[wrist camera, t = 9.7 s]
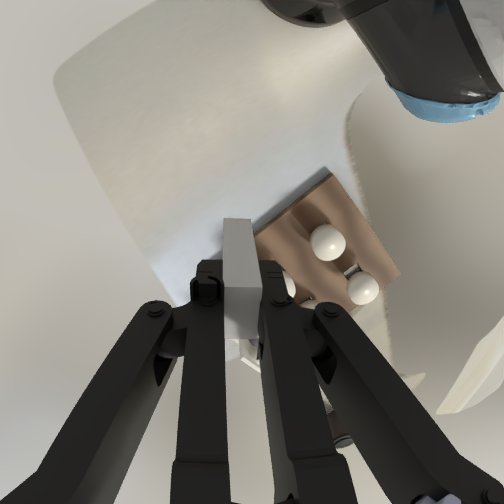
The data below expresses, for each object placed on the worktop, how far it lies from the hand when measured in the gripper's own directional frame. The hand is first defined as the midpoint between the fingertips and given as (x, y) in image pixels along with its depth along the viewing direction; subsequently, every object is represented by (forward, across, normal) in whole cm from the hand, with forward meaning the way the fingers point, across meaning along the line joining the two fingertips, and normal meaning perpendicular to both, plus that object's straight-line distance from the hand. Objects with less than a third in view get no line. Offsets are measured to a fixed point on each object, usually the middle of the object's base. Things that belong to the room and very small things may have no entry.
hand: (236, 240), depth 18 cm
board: (+29, +15, -20) cm, 38 cm away
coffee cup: (+30, +31, -67) cm, 80 cm away
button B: (+27, +22, -20) cm, 40 cm away
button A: (+29, +15, -13) cm, 35 cm away
